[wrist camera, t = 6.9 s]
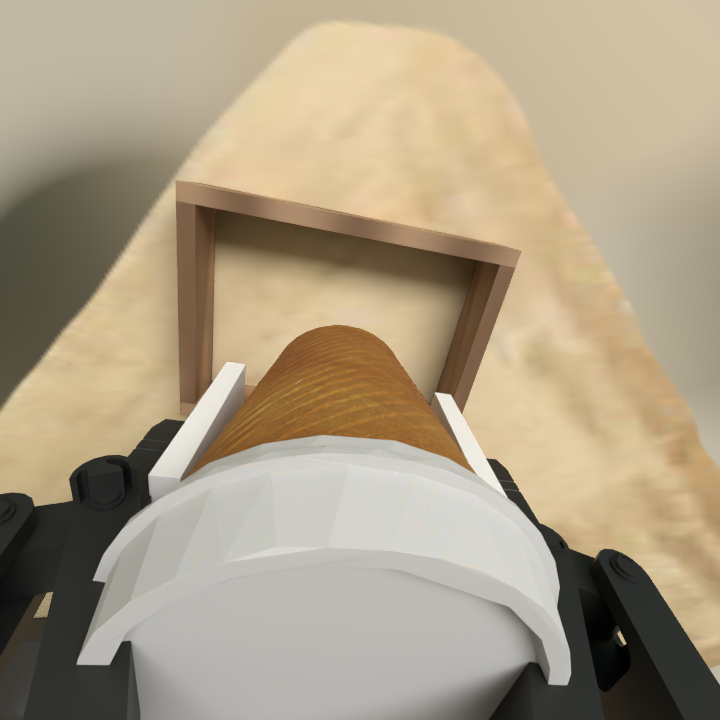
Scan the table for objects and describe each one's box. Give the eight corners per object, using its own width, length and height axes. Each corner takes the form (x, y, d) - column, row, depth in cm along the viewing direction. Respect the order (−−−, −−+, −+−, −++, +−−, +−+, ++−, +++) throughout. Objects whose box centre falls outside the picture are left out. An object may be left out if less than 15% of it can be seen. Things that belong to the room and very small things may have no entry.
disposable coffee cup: (236, 453, 19) (89, 814, 8) (240, 273, 15) (-45, 490, 4) (411, 469, 20) (497, 808, 9) (458, 305, 16) (718, 548, 5)
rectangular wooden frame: (198, 389, 28) (180, 414, 25) (199, 182, 22) (175, 180, 19) (438, 422, 30) (449, 448, 27) (497, 244, 24) (521, 251, 21)
